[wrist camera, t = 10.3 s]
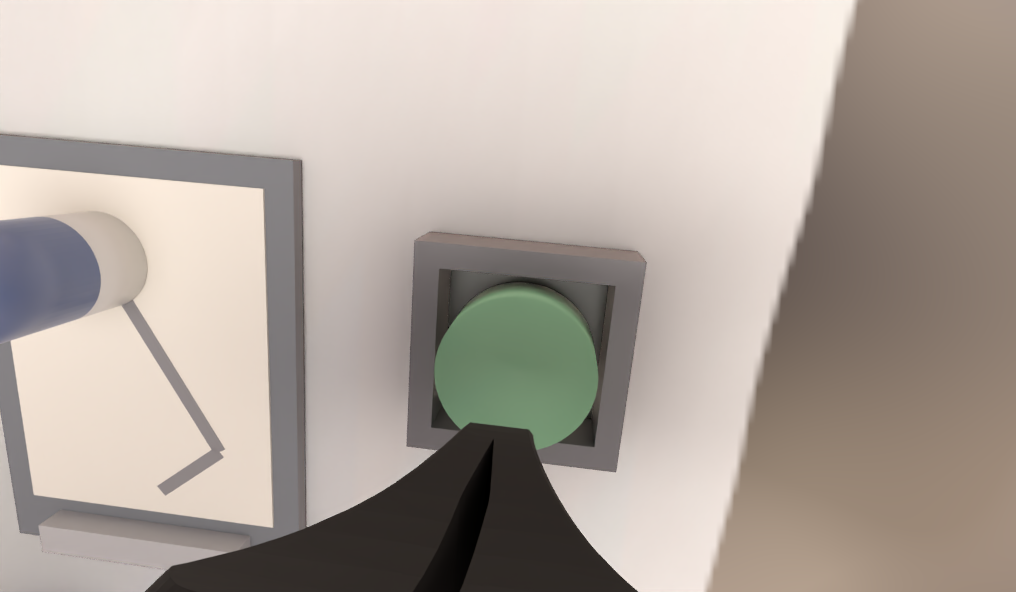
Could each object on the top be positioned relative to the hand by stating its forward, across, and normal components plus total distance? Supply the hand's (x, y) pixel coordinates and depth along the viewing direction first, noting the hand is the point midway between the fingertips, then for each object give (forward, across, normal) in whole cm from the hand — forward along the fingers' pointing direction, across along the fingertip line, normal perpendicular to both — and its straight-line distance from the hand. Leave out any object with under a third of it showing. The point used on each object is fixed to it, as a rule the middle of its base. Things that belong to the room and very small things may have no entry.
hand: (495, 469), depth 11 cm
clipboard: (+8, +14, +2) cm, 17 cm away
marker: (+8, +15, -2) cm, 17 cm away
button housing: (+8, 0, 0) cm, 8 cm away
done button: (+7, 0, 0) cm, 7 cm away
